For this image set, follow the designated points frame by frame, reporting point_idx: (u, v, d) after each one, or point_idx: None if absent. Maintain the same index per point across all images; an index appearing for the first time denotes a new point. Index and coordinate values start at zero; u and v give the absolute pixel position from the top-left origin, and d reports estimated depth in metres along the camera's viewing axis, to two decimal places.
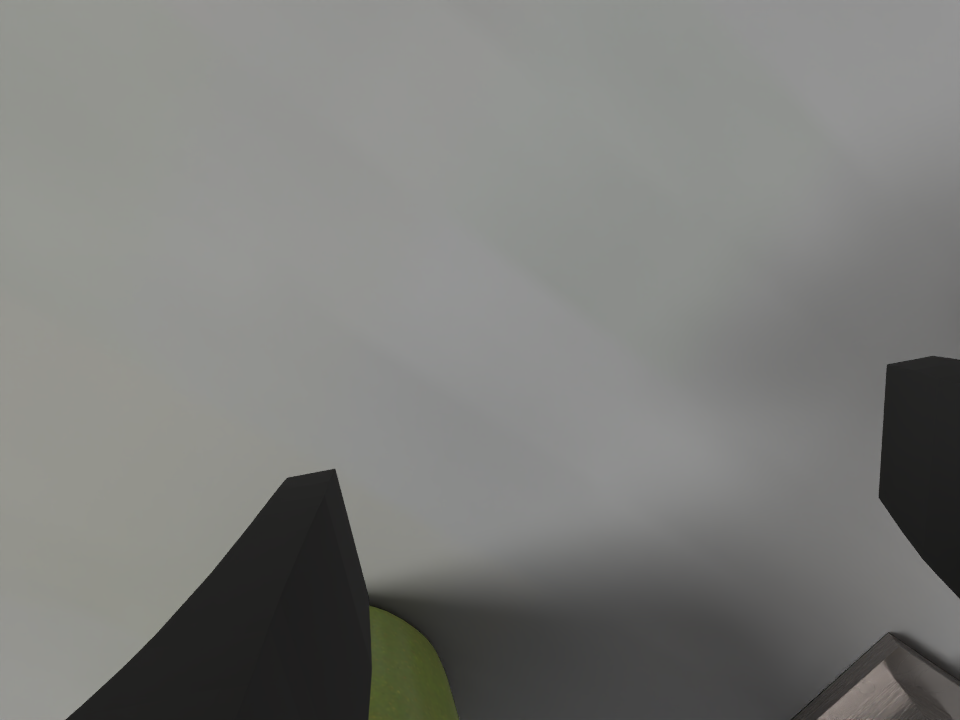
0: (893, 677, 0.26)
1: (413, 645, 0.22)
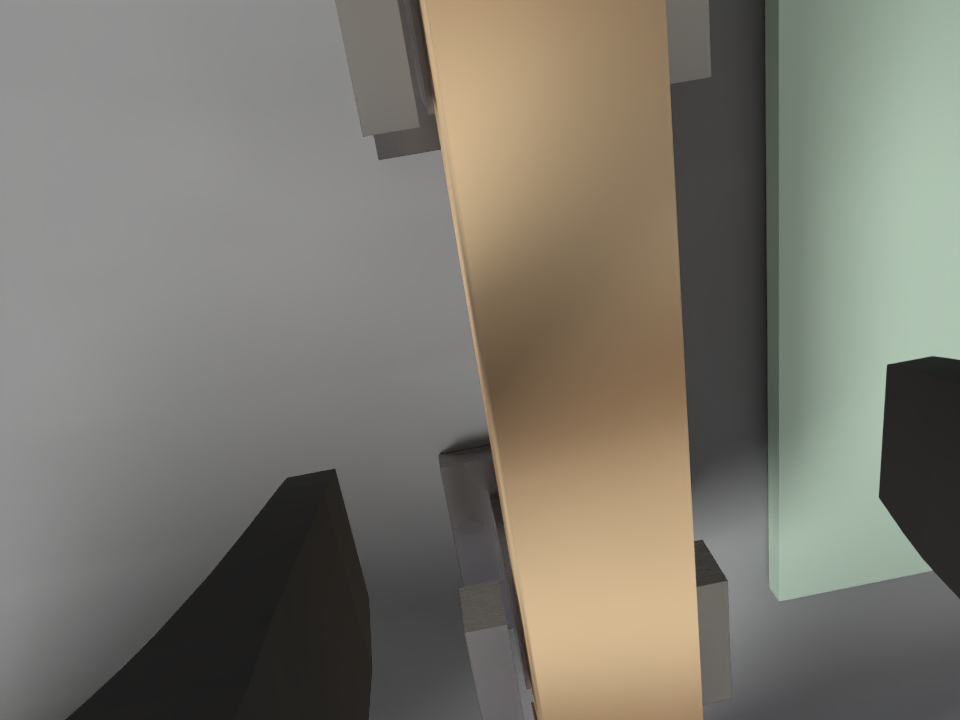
0: (483, 496, 0.19)
1: None
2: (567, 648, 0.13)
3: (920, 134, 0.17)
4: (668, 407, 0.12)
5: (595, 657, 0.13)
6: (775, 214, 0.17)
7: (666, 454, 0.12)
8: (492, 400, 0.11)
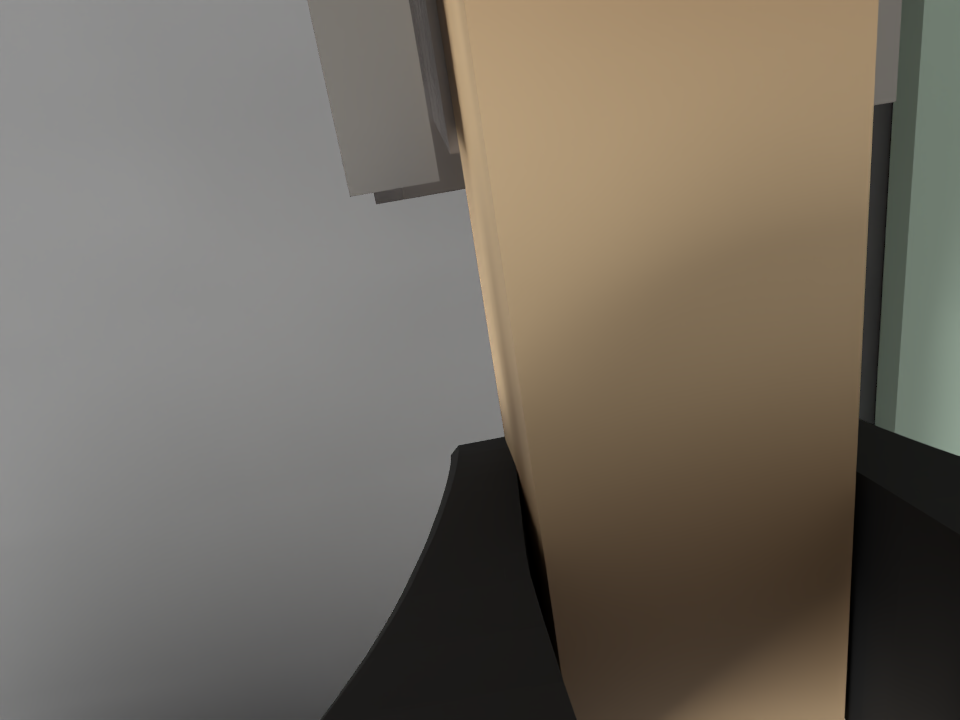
0: None
1: None
2: None
3: None
4: (822, 610, 0.08)
5: None
6: (900, 270, 0.13)
7: (812, 673, 0.08)
8: (553, 609, 0.07)
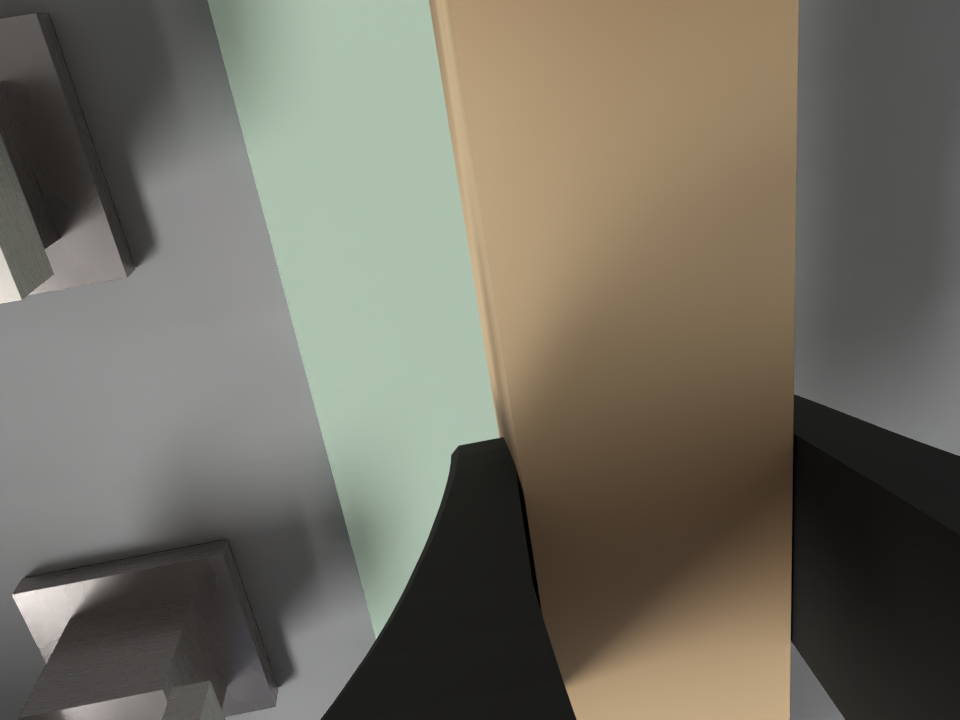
0: (62, 619, 0.19)
1: None
2: None
3: (429, 286, 0.17)
4: (767, 541, 0.09)
5: None
6: (303, 360, 0.18)
7: (760, 598, 0.09)
8: (531, 537, 0.08)
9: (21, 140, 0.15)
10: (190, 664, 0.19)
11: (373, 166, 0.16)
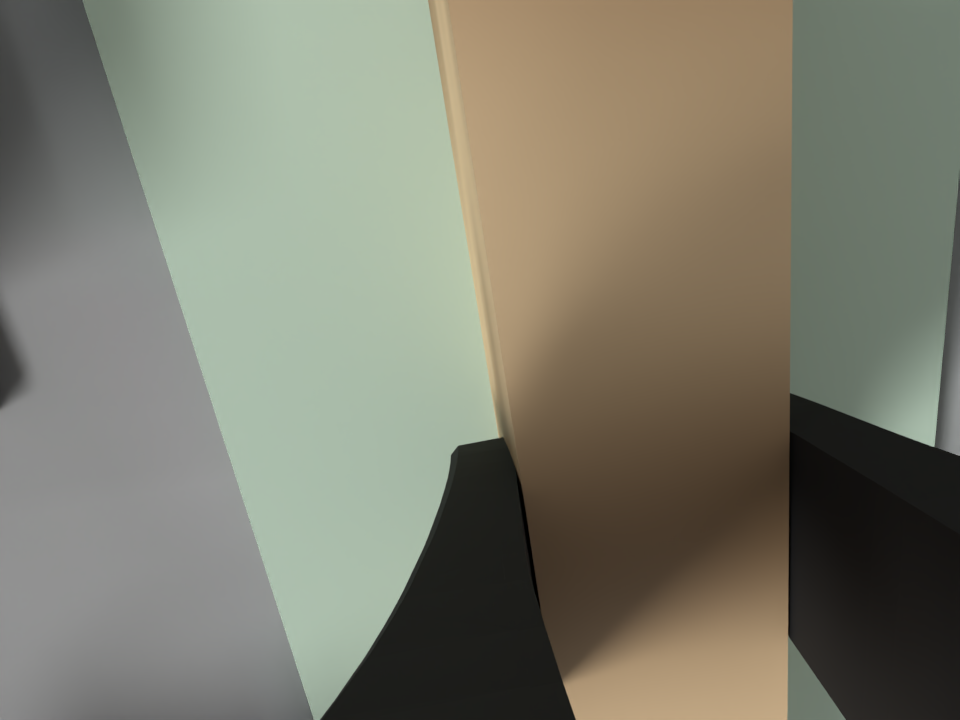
0: None
1: None
2: None
3: (455, 439, 0.11)
4: (764, 539, 0.09)
5: None
6: (260, 545, 0.11)
7: (759, 597, 0.09)
8: (530, 535, 0.08)
9: None
10: None
11: (368, 261, 0.10)
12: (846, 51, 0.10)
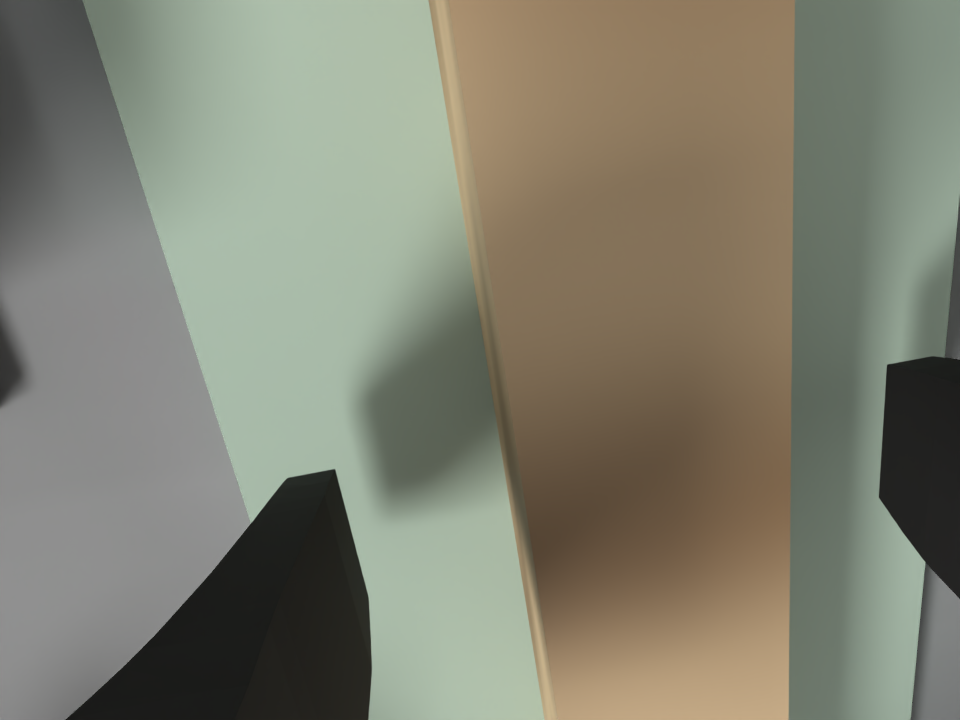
0: None
1: None
2: None
3: (456, 438, 0.11)
4: (765, 539, 0.09)
5: None
6: None
7: (760, 597, 0.09)
8: (531, 535, 0.08)
9: None
10: None
11: (368, 260, 0.10)
12: (848, 49, 0.10)
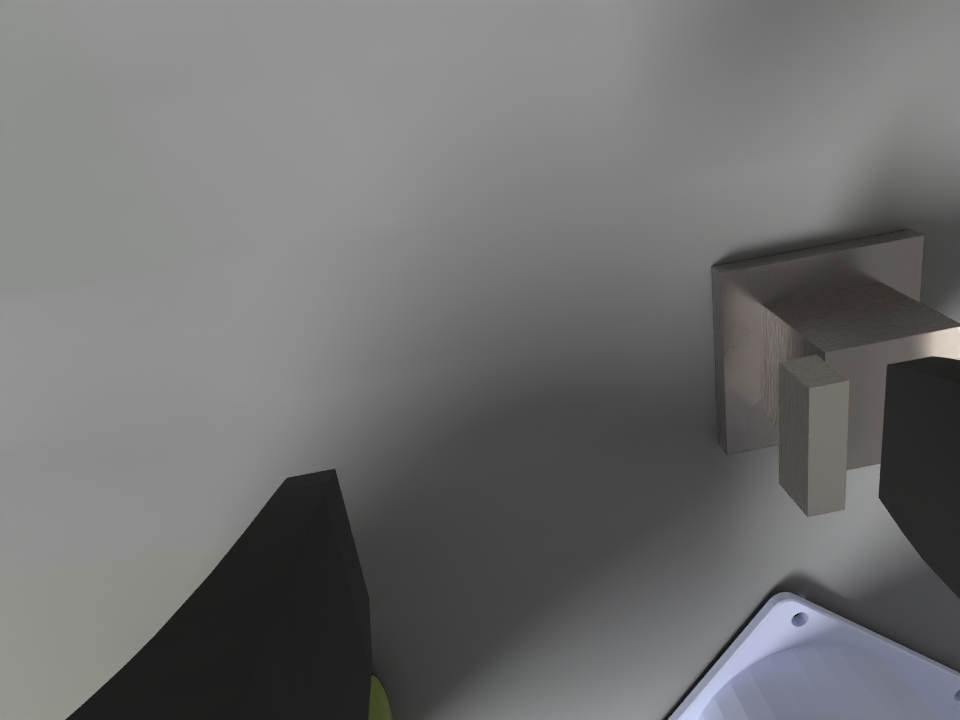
0: (756, 305, 0.19)
1: None
2: None
3: None
4: None
5: None
6: None
7: None
8: None
9: None
10: None
11: None
12: None
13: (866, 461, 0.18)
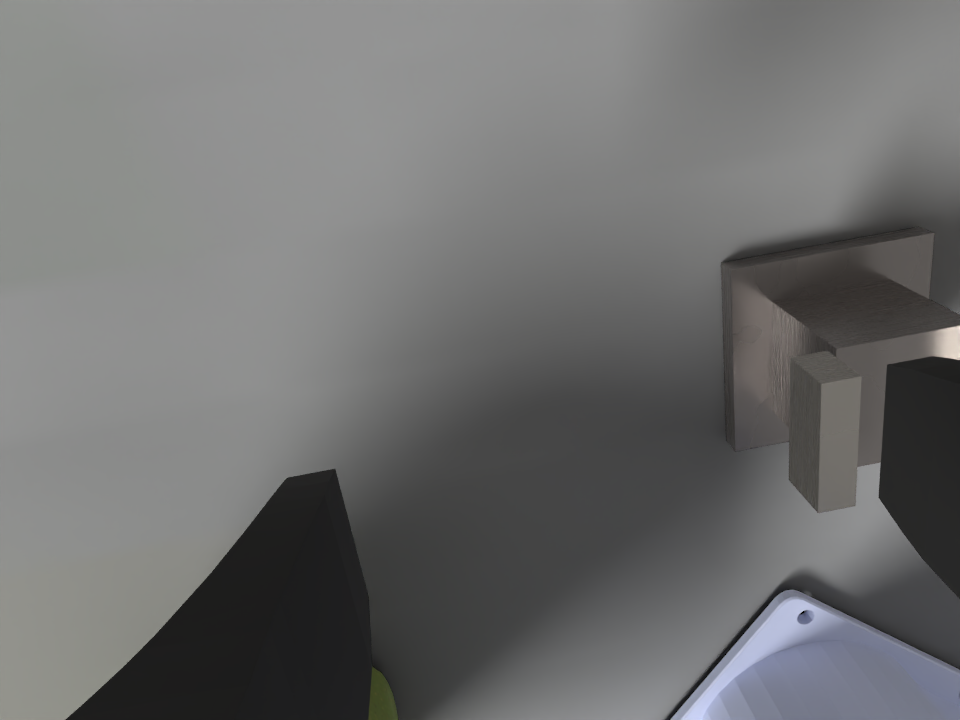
0: (766, 302, 0.19)
1: None
2: None
3: None
4: None
5: None
6: None
7: None
8: None
9: None
10: None
11: None
12: None
13: (876, 458, 0.18)
